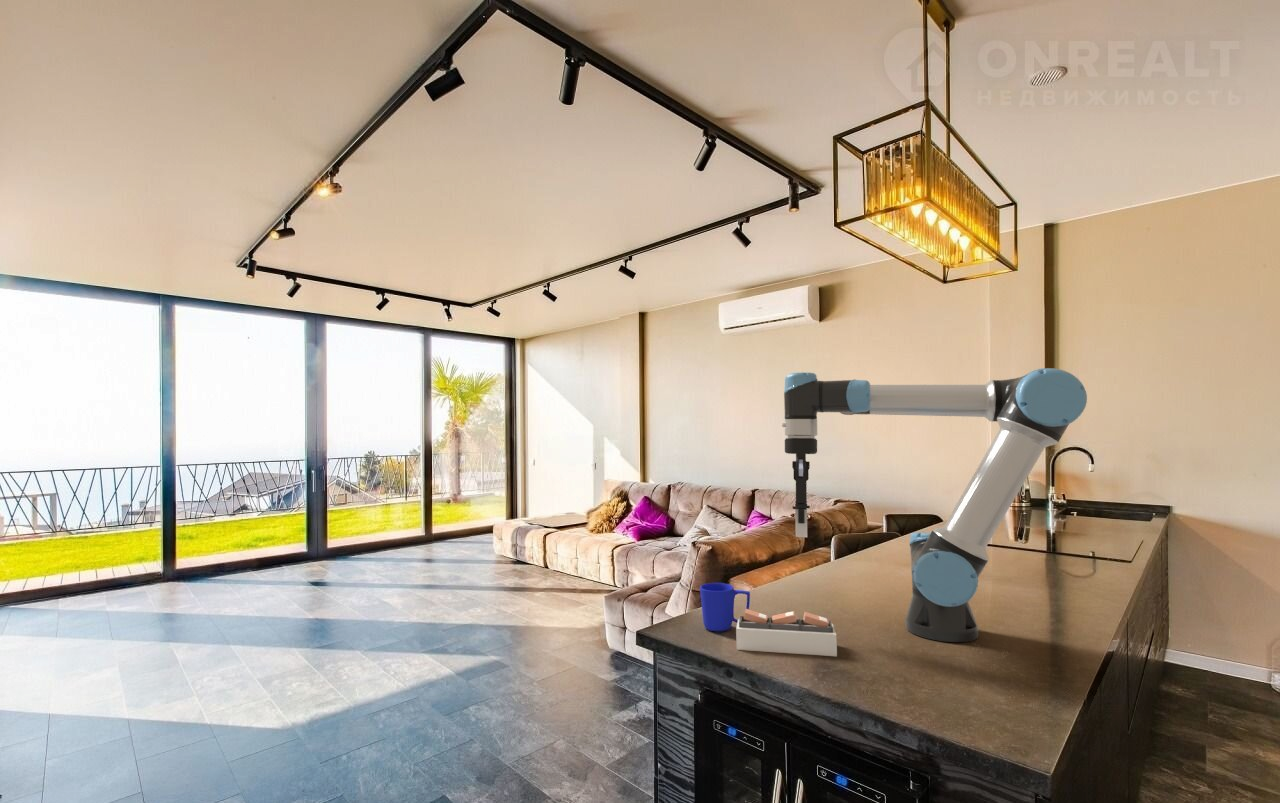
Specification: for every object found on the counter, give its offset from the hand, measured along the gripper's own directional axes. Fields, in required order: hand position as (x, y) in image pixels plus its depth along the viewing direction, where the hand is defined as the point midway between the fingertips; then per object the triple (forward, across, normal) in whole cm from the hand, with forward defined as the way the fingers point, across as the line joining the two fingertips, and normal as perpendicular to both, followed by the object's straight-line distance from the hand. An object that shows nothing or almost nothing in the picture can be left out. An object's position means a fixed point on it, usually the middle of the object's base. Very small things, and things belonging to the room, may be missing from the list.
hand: (801, 536), depth 136 cm
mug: (+24, 0, -18) cm, 30 cm away
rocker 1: (+17, +10, -10) cm, 22 cm away
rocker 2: (+17, +9, -4) cm, 20 cm away
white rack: (+23, +9, -4) cm, 25 cm away
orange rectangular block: (+17, +9, +3) cm, 19 cm away
